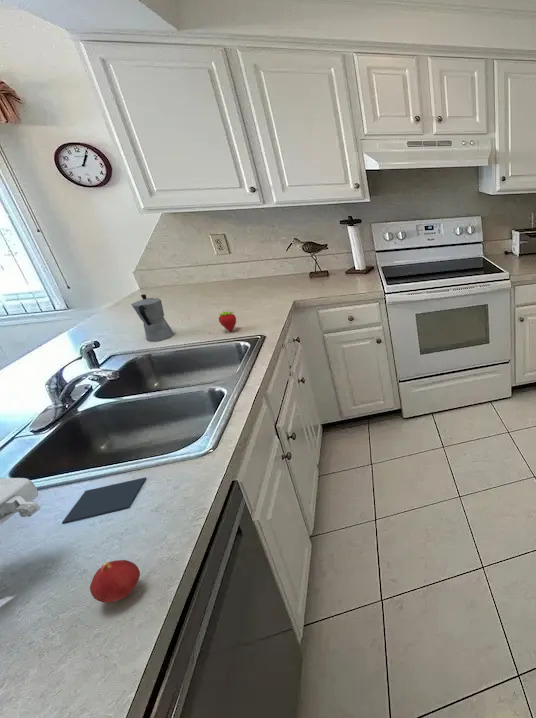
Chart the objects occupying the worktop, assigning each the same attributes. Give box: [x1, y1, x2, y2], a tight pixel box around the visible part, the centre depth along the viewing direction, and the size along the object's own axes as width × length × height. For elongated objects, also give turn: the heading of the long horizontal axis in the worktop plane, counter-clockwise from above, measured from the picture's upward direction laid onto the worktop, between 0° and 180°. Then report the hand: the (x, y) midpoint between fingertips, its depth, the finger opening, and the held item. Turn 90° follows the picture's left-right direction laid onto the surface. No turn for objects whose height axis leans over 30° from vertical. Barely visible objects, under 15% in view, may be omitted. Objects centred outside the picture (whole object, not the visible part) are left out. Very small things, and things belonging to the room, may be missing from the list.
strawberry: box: [218, 311, 237, 333], centre depth 166 cm, size 6×8×10 cm
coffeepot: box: [130, 293, 175, 343], centre depth 160 cm, size 15×9×18 cm, turn 27°
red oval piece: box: [89, 559, 141, 604], centre depth 66 cm, size 6×6×8 cm
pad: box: [61, 476, 148, 525], centre depth 87 cm, size 11×9×1 cm
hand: (2, 534), depth 61 cm, fingers open, 8 cm apart
